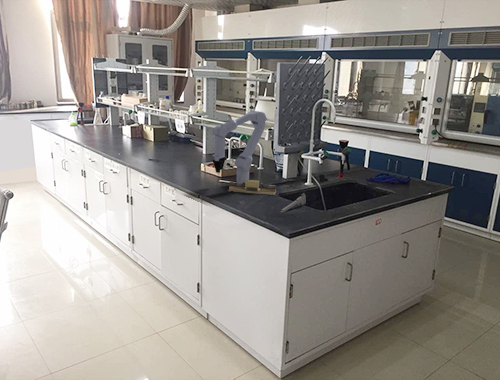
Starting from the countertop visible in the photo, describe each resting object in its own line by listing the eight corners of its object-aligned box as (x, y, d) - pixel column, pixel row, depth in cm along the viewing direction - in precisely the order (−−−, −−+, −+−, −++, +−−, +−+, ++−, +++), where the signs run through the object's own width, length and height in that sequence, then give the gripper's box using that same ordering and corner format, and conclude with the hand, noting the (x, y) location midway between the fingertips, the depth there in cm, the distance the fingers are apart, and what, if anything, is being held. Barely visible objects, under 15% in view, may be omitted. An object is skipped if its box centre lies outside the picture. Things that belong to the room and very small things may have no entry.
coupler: (246, 188, 234) (246, 179, 232) (258, 189, 233) (259, 180, 232) (245, 190, 230) (245, 181, 229) (257, 191, 229) (258, 182, 228)
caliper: (303, 204, 213) (304, 192, 212) (305, 204, 213) (306, 192, 211) (280, 212, 198) (280, 200, 196) (282, 213, 197) (282, 200, 196)
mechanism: (230, 188, 237) (231, 179, 235) (276, 191, 233) (276, 182, 232) (228, 191, 230) (228, 182, 229) (274, 194, 227) (275, 186, 225)
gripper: (215, 145, 239) (215, 167, 243) (209, 149, 226) (209, 173, 229) (227, 145, 239) (227, 168, 242) (222, 149, 225) (221, 174, 228)
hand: (219, 171), depth 236 cm, fingers open, 7 cm apart
